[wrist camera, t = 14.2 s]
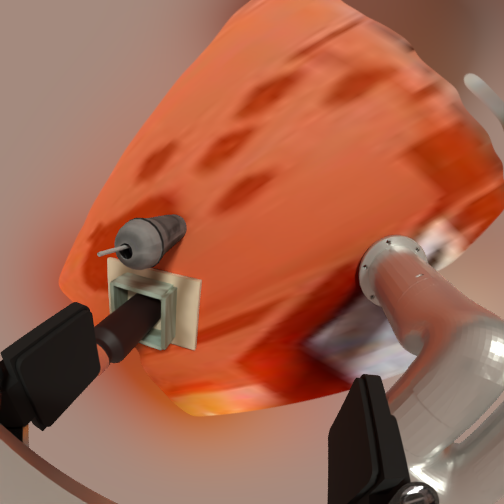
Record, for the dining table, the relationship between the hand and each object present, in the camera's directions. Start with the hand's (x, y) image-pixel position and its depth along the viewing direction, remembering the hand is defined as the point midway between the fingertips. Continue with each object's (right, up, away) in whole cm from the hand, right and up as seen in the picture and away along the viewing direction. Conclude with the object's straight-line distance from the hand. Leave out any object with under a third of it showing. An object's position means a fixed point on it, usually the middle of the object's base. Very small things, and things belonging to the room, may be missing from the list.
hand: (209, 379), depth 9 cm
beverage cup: (-12, +8, +40) cm, 43 cm away
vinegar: (-19, -6, +44) cm, 49 cm away
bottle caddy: (-18, -6, +45) cm, 49 cm away
